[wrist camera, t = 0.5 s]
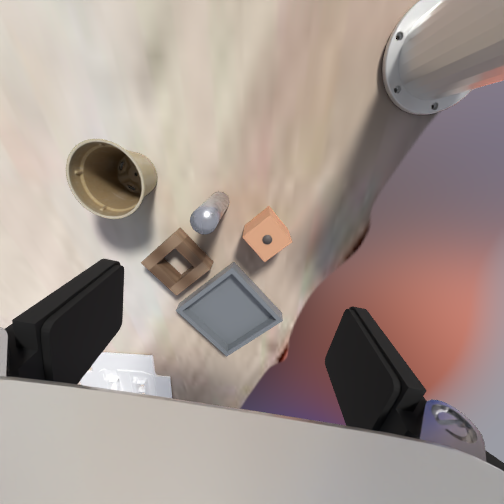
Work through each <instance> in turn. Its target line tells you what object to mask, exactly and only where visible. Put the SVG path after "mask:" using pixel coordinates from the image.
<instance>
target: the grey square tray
mask: <svg viewBox="0 0 504 504" xmlns="http://www.w3.org/2000/svg"><path fill="white" fill-rule="evenodd" d="M176 311H177V312H178V313H179V314H180V315H181V316H182V317H183V318H185V319H186V320H187V321H188V322H189V323H190V324H191V325H192V326H193V327H194V328H196V329H197V330H198V331H199V332H200V333H201V334H202V335H203V336H204V337H206V338H207V339H208V340H209V341H210V342H211V343H212V344H213V345H214V346H216V347H217V348H218V349H219V350H220V351H221V352H222V353H223V354H224V355H226V356H228V355H230V354H231V353H233V352H234V351H236V350H238V349H239V348H241V347H242V346H244V345H245V344H247V343H249V342H250V341H252V340H253V339H255V338H256V337H258V336H260V335H261V334H263V333H264V332H266V331H267V330H269V329H271V328H272V327H274V326H275V325H277V324H278V323H280V322H282V321H283V319H282V312H281V311H280V310H279V309H278V308H277V307H276V306H275V305H274V304H273V303H272V302H271V301H270V300H269V299H268V297H267V296H266V295H265V294H264V293H263V292H262V291H261V290H260V289H259V288H258V287H257V286H256V285H255V284H254V282H253V281H252V280H251V279H250V278H249V277H248V276H247V275H246V274H245V273H244V272H243V271H242V270H241V269H240V268H239V266H238V265H237V264H236V263H235V262H233V263H231V264H230V265H229V266H227V267H226V268H225V269H223V270H222V271H221V272H219V273H218V274H217V275H216V276H214V277H213V278H212V279H210V280H209V281H208V282H206V283H205V284H204V285H203V286H201V287H200V288H199V289H197V290H196V291H195V292H193V293H192V294H191V295H190V296H188V297H187V298H186V299H184V300H183V301H182V302H180V304H179V305H178V307H177V309H176Z"/></svg>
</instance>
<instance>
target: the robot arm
mask: <svg viewBox="0 0 504 504" xmlns="http://www.w3.org/2000/svg"><path fill="white" fill-rule="evenodd" d="M396 37H397V38H398V40H396ZM382 72H383V81H384V85H385V89H386V91H387V93H388V95H389V97H390V99H391V100H392V101H393V103H394V104H395V105H396V106H398V107H399V108H400V109H402V110H403V111H406V112H408V113H411V114H417V115H427V114H433V113H437V112H440V111H443V110H446V109H448V108H449V107H451V106H453V105H455V104H457V103H458V102H459V101H461V100H462V99H463V98H465V96H467V94H469V93H470V92H471V91H472V90H473V89H475V88H478V87H481V86H486V85H489V84H493V83H496V82H500V81H503V80H504V0H420V1H418V2H417V3H416V4H415V5H414V6H413V7H411V8H410V9H409V10H408V11H407V12H406V13H405V15H404V16H403V17H402V18H401V20H400V21H399V22H398V24H397V25H396V27H395V29H394V30H393V32H392V34H391V36H390V38H389V41H388V43H387V45H386V49H385V53H384V57H383V66H382ZM394 89H395V90H396V92H394ZM431 106H432V109H431ZM123 287H124V267H123V266H120V263H119V262H118V261H113V260H108V259H101V260H100V261H98V262H97V263H96V264H94V265H93V266H91V267H90V268H88V269H87V270H85V271H84V272H82V273H81V274H79V275H78V276H76V277H75V278H73V279H72V280H71V281H69V282H68V283H66V284H65V285H63V286H62V287H60V288H59V289H57V290H56V291H54V292H53V293H51V294H50V295H48V296H47V297H46V298H44V299H43V300H41V301H40V302H38V303H37V304H35V305H34V306H32V307H31V308H29V309H28V310H26V311H25V312H23V313H22V314H21V315H19V316H18V317H16V318H15V319H13V320H12V322H13V324H11V325H10V326H8V327H7V328H6V329H3V328H1V327H0V504H504V463H503V462H501V461H500V460H498V459H497V458H496V457H494V456H493V455H491V454H490V453H488V452H487V451H486V450H485V443H484V440H483V437H482V434H481V433H480V431H479V430H478V428H477V427H476V426H475V425H474V424H473V423H472V421H471V420H470V419H468V418H467V417H466V416H465V415H464V414H463V413H462V412H460V411H459V410H457V409H456V408H454V407H452V406H451V405H449V404H447V403H445V402H442V401H439V400H429V401H426V400H425V398H424V397H423V395H424V394H425V392H426V389H425V388H424V387H423V385H422V384H421V382H420V381H419V380H418V378H417V377H416V376H415V374H414V373H413V372H412V370H411V369H410V368H409V366H408V365H407V364H406V362H405V361H404V360H403V358H402V357H401V356H400V354H399V353H398V351H397V350H396V349H395V347H394V346H393V345H392V343H391V342H390V341H389V339H388V338H387V337H386V335H385V334H384V333H383V331H382V330H381V329H380V327H379V326H378V325H377V323H376V322H375V321H374V320H373V318H372V317H371V315H370V314H369V312H368V311H367V310H366V309H362V308H357V307H350V308H349V309H346V310H345V312H344V314H343V316H342V319H341V322H340V324H339V326H338V329H337V331H336V333H335V336H334V338H333V341H332V343H331V346H330V348H329V350H328V353H327V355H326V358H325V365H326V368H327V371H328V374H329V377H330V380H331V383H332V386H333V389H334V391H335V394H336V397H337V400H338V403H339V406H340V409H341V411H342V414H343V417H344V420H345V423H346V426H345V425H338V424H332V423H326V422H320V421H314V420H307V419H301V418H295V417H288V416H283V415H277V414H270V413H264V412H257V411H251V410H245V409H238V408H232V407H225V406H219V405H212V404H206V403H199V402H193V401H186V400H180V399H173V398H166V397H160V396H153V395H146V394H139V393H133V392H126V391H119V390H112V389H106V388H99V387H92V386H85V385H77V384H78V383H79V381H80V380H81V379H82V378H83V376H84V375H85V374H86V372H87V371H88V370H89V368H90V367H91V366H92V365H93V363H94V362H95V361H96V359H97V358H98V357H99V355H100V354H101V353H102V352H103V350H104V349H105V348H106V346H107V345H108V344H109V342H110V341H111V340H112V339H113V337H114V336H115V335H116V333H117V332H118V331H119V329H120V327H121V325H122V315H123Z"/></svg>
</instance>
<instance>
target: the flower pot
mask: <svg viewBox="0 0 504 504" xmlns="http://www.w3.org/2000/svg"><path fill="white" fill-rule="evenodd" d="M122 162H123V163H124V164H123V166H122V170H120V164H121V163H122ZM135 173H137V176H135ZM66 176H67V181H68V184H69V187H70V189H71V191H72V193H73V195H74V196H75V198H76V199H77V200H78V202H79V203H80V204H81V205H82V206H83V207H84V208H86V209H87V210H88V211H90V212H91V213H93V214H95V215H98V216H100V217H103V218H107V219H120V218H124V217H127V216H129V215H131V214H132V213H134V212H135V211H136V210H137V209H138V208H139V206H140V205H141V203H142V201H143V198H144V197H145V196H146V195H147V194H148V193H150V192H151V191H152V190H153V189H154V187H155V186H156V183H157V173H156V170H155V167H154V165H153V163H152V162H151V161H150V160H149V159H148V158H147V157H146V156H144V155H142V154H140V153H136V152H131V151H127V150H125V149H124V148H122V147H121V146H119V145H117V144H115V143H113V142H110V141H107V140H103V139H89V140H85V141H83V142H81V143H79V144H78V145H76V146H75V147H74V148H73V149H72V151H71V152H70V154H69V156H68V159H67V164H66ZM129 185H130V186H131V187H132V186H133V188H135V190H133V189H131V188H130V187H129Z"/></svg>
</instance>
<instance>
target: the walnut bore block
mask: <svg viewBox="0 0 504 504" xmlns="http://www.w3.org/2000/svg"><path fill="white" fill-rule="evenodd" d="M174 248H175V249H176V250H177V251H178V252H179V253H180V254H181V255H182V256H183V257H184V258H185V259H186V260H187V261H188V262H189V263H190V264H191V265H192V267H191V268H189V269H188V270H187V271H186V272H184V273H183V274H182V275H181V274H180V273H179V272H178V271H177V270H176V269H175V268H174V267H173V266H172V265H171V264H170V263H169V262H168V261H166V260H165V259H164V257H165V256H166V255H167V254H169V253H170V252H171V251H172V250H173V249H174ZM141 263H142V264H143V265H144V266H145V267H146V268H147V269H148V270H149V271H150V272H151V273H152V274H153V275H154V276H156V277H157V278H158V279H159V280H160V281H161V282H162V283H163V284H164V285H165V286H166V287H167V288H169V289H170V290H171V291H172V292H173V293H174V294H175V295H176V296H177V295H178V294H179V293H181V292H182V291H183V290H185V289H186V288H187V287H188V286H190V285H191V284H192V283H193V282H195V281H196V280H197V279H199V278H200V277H201V276H202V275H204V274H205V273H206V272H208V271H209V270H210V269H211V266H212V264H213V261H212V260H211V259H210V258H209V257H208V256H207V255H206V254H205V253H204V251H203V250H202V249H201V248H200V247H199V246H198V245H197V244H196V243H195V242H194V241H193V240H192V239H191V238H190V237H189V236H188V235H187V234H186V233H185V232H184V231H183V230H182V229H181V228H179V229H178V230H177V231H176V232H175V233H174V234H172V235H171V236H170V237H169V238H168V239H167V240H166V241H164V242H163V243H162V244H161V245H160V246H159V247H158V248H157V249H155V250H154V251H153V252H152V253H151V254H150V255H149V256H148V257H147V258H145V259H144V260H143V261H142V262H141Z"/></svg>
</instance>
